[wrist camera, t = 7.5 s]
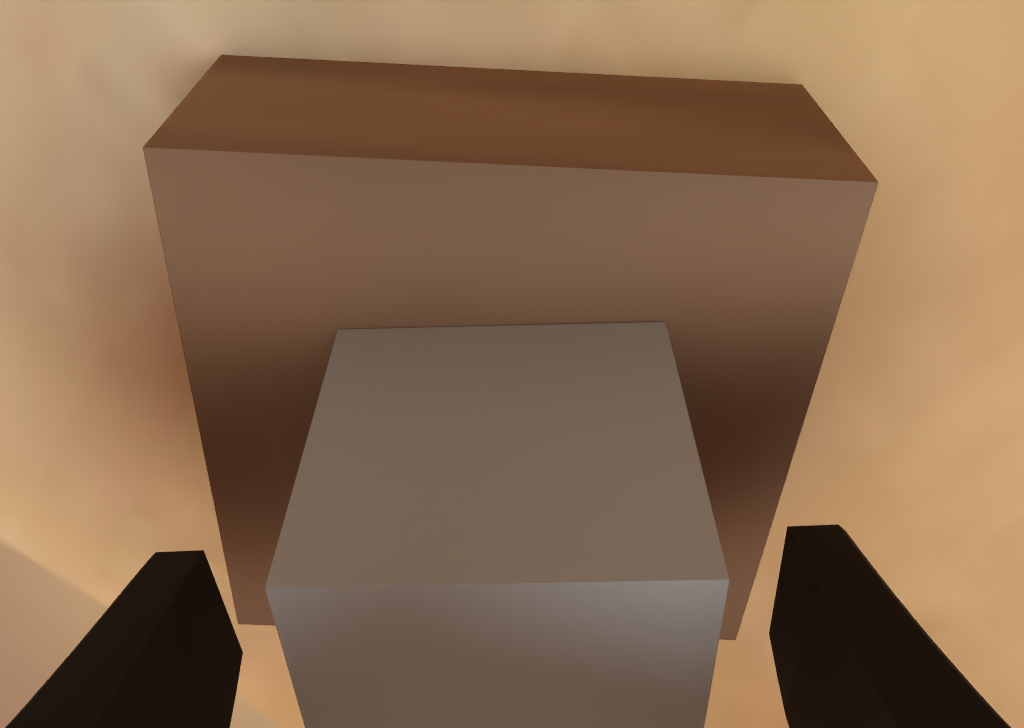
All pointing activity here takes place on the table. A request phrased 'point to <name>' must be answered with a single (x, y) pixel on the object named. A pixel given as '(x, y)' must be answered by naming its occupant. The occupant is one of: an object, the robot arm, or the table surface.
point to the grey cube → (500, 534)
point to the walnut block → (499, 253)
